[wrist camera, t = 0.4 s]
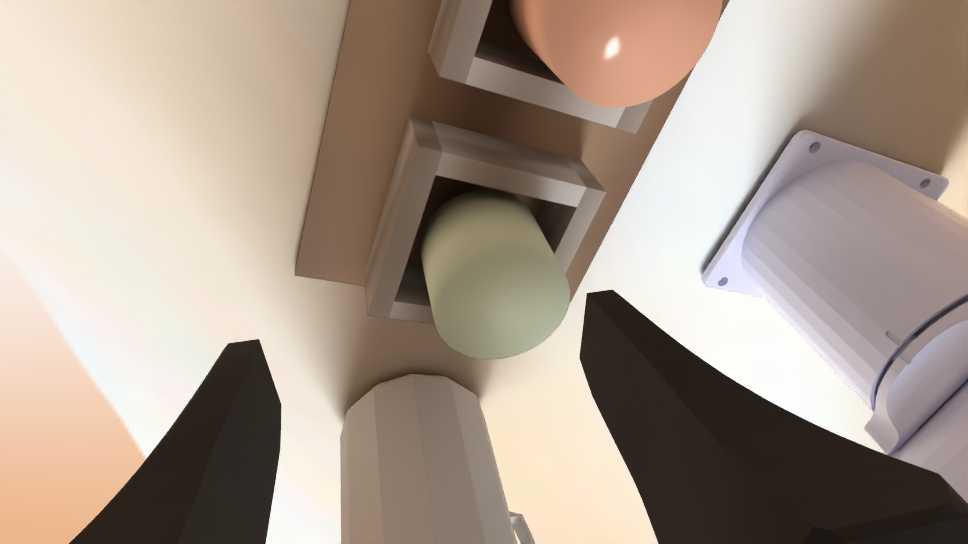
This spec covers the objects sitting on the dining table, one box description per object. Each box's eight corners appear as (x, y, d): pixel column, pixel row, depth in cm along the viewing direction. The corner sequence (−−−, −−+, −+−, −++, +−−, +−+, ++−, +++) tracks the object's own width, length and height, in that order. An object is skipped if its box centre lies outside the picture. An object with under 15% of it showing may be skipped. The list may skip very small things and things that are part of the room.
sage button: (555, 203, 21) (592, 263, 18) (512, 298, 23) (538, 365, 20) (440, 177, 19) (459, 238, 16) (405, 281, 21) (417, 351, 18)
